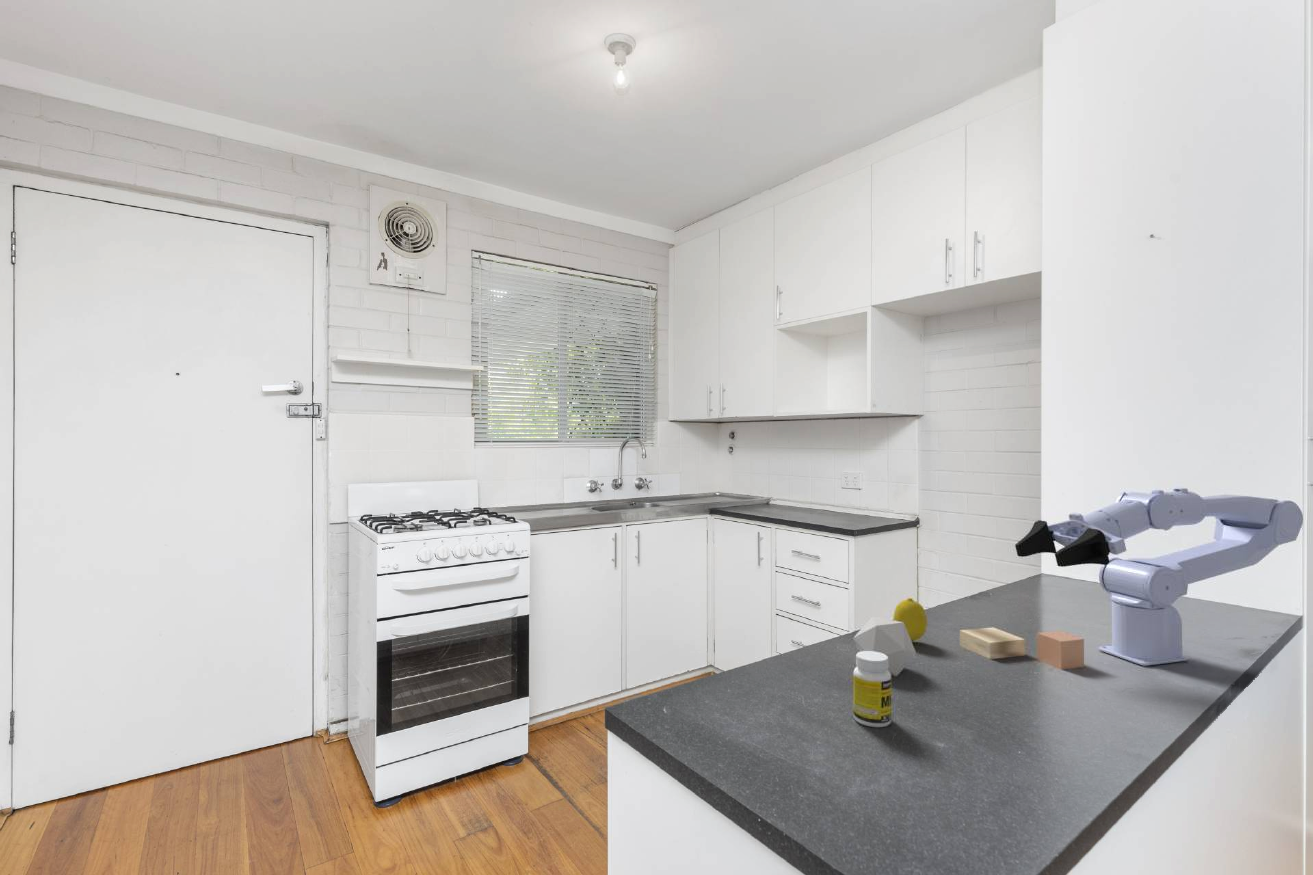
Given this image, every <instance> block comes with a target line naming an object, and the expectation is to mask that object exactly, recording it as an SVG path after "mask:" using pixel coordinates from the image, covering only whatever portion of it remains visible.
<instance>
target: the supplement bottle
mask: <svg viewBox="0 0 1313 875" xmlns="http://www.w3.org/2000/svg"><path fill="white" fill-rule="evenodd" d="M855 663H856V664H855V665H856V667H855V668H854V670H853V671H852V672H853V673H852V676H853V678H852V680H853V681H852V682H853V685H852V686H853V687H852V688H853V693H852V694H853V701H852V702H853V703H852V704H853V705H852V707H853V708H852V709H853V710H852V711H853V713H852V714H853V715H852V716H853V718H854V720H855V721H856V722H858V723H859V724H861V725H863V726H867V727H871V728H884V727H887V726H889V725H891V723H892V675H891V674H890V672H889V671H888V667H889V664H888V656H886V655H885V654H883V653H880V652H875V651H861V652H859V651H858V652H857V653H856V655H855Z"/></svg>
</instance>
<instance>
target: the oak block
mask: <svg viewBox="0 0 1313 875" xmlns="http://www.w3.org/2000/svg"><path fill="white" fill-rule="evenodd" d="M959 646H960V647H962V648H964V649H967V650H968V651H970V652H974V653H975V654H978V655H980V656H982V657H984V658H987V659H988V660H995V659H1002V658H1003V659H1004V658H1005V659H1006V658H1012V657H1013V658H1014V657H1022V656H1023V657H1024V656H1026V640H1025V638H1022V637H1020V636H1017V635H1014V634H1012V633H1009V632H1007V631H1004V630H1001V629H998V628H996V627H995V626H994V627H983V628H982V627H981V628H980V627H979V628H973V629H971V628H970V629H961V630H960V629H959Z"/></svg>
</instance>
